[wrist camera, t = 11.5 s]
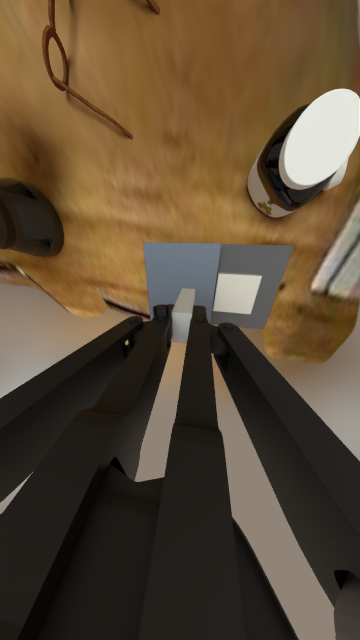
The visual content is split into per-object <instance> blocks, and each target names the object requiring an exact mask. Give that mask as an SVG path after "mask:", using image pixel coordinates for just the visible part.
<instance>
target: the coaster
mask: <svg viewBox="0 0 360 640" xmlns="http://www.w3.org/2000/svg"><path fill="white" fill-rule="evenodd" d="M261 278H262V276H261V275H259V274H245V273H226V272H218V274H217V281H216V287H215V294H214V300H213V311H220V312H231V313H242V314H251V311H252V308H253V304H254V301H255V298H256V294H257V291H258V288H259V285H260V281H261Z"/></svg>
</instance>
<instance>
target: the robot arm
mask: <svg viewBox="0 0 360 640" xmlns="http://www.w3.org/2000/svg"><path fill="white" fill-rule="evenodd" d="M62 244H63V230H62V225H61V222H60V219H59V217H58V215H57V213H56V211H55V209H54V207H53V206H52V204H51V203H50V202H49V200H48V199H47V198H46V197H45V196H44V195H43V194H42V193H41V192H40V191H39V190H38V189H36V188H35V187H33V186H31V185H29V184H27V183H24V182H21V181H18V180H15V179H11V178H0V249H11V250H15V251H19V252H23V253H27V254H31V255H35V256H53V255H55V254H57V253H58V252H59V251H60V249H61V247H62ZM194 300H195V289H188V288H182V290H181V292H180V294H179V297H178V299H177V301H176V303H175V304H167V305H164V304H161V305H156V306H154V307H153V316H154V317H153V319H152V320H151V321H147V322H143V319H142V318H141V317H137V316H132V317H129V318H127V319H125V320H124V321H122V322H121V323H119V324H117V325H116V326H114V327H113V328H111V329H110V330H108V331H106V332H105V333H103V334H102V335H100V336H98V337H97V338H96V339H94V340H92V341H91V342H89V343H87V344H86V345H84V346H83V347H81V348H79V349H78V350H76V351H75V352H73V353H71V354H70V355H68V356H67V357H65V358H64V359H62V360H60V361H59V362H57V363H56V364H54V365H52V366H51V367H49V368H48V369H46V370H45V371H43V372H42V373H40V374H38V375H37V376H35V377H33V378H32V379H30V380H29V381H27V382H26V383H24V384H22V385H21V386H19V387H18V388H16V389H15V390H13V391H11V392H10V393H8V394H7V395H5V396H3V397H2V398H0V502H1V501H3V500H4V499H5V498H6V497H7V496H8V495H9V494H10V493H11V492H12V491H14V490H15V489H16V488H17V487H18V486H19V485H20V484H21V483H22V482H23V481H24V480H25V479H26V478H27V477H28V476H29V475H30V474H31V473H32V472H33V473H32V474H31V475H30V477H29V478H28V479H27V481H26V482H25V484H24V485H23V486H22V488H21V489H20V490H19V492H18V493H17V494H16V496H15V497H14V499H13V500H12V501H11V502H10V504H9V505H8V506H7V508H6V509H5V511H4V512H3V513H2V514H0V640H299V639H298V637H297V635H296V633H295V631H294V629H293V627H292V625H291V623H290V622H289V620H288V618H287V616H286V614H285V612H284V610H283V608H282V606H281V604H280V602H279V600H278V598H277V596H276V594H275V592H274V590H273V588H272V586H271V584H270V582H269V580H268V578H267V576H266V575H265V572H264V571H263V568H262V566H261V565H260V563H259V561H258V559H257V557H256V555H255V553H254V551H253V549H252V547H251V545H250V544H249V541H248V540H247V538H246V536H245V535H244V533H243V532H242V530H241V528H240V527H239V525H238V524H237V522H236V521H235V520H234V518H233V517H232V513H231V504H230V495H229V486H228V477H227V469H226V459H225V451H224V444H223V437H222V433H221V432H220V430H219V428H218V421H217V411H216V401H215V389H214V378H213V367H212V356H211V353H213V354H214V358H215V360H216V362H217V365H218V367H219V369H220V371H221V374H222V376H223V378H224V381H225V383H226V385H227V387H228V389H229V392H230V394H231V396H232V398H233V400H234V403H235V405H236V407H237V409H238V412H239V414H240V416H241V419H242V421H243V423H244V425H245V428H246V430H247V432H248V434H249V436H250V439H251V441H252V443H253V445H254V448H255V450H256V452H257V454H258V457H259V458H260V461H261V463H262V466H263V468H264V470H265V472H266V475H267V477H268V479H269V481H270V483H271V486H272V488H273V490H274V492H275V495H276V497H277V499H278V502H279V504H280V506H281V508H282V510H283V513H284V515H285V517H286V519H287V521H288V523H289V525H290V527H291V529H292V531H293V533H294V536H295V538H296V540H297V542H298V544H299V546H300V548H301V550H302V551H303V553H304V555H305V557H306V559H307V561H308V563H309V565H310V566H311V568H312V570H313V572H314V574H315V576H316V577H317V579H318V581H319V583H320V585H321V586H322V588H323V589H324V591H325V593H326V594H327V596H328V598H329V600H330V601H331V603H332V604H333V606H334V608H335V609H334V624H335V632H336V640H360V461H359V460H358V459H357V458H356V457H355V456H354V455H353V454H352V453H351V451H350V450H349V449H348V448H347V447H346V446H345V445H344V444H343V443H342V441H341V440H340V439H339V438H338V437H337V436H336V435H335V434H334V433H333V431H332V430H331V429H330V428H329V427H328V426H327V425H326V424H325V423H324V422H323V420H322V419H321V418H320V417H319V416H318V415H317V414H316V413H315V412H314V411H313V409H312V408H311V407H310V406H309V405H308V404H307V403H306V402H305V401H304V399H303V398H302V397H301V396H300V395H299V394H298V393H297V392H296V391H295V390H294V388H293V387H292V386H291V385H290V384H289V383H288V382H287V381H286V380H285V379H284V377H283V376H282V375H281V374H280V373H279V372H278V371H277V370H276V369H275V367H274V366H273V365H272V364H271V363H270V362H269V361H268V360H267V359H266V358H265V357H264V355H263V354H262V353H261V352H260V351H259V350H258V349H257V348H256V347H255V346H254V344H253V343H252V342H251V341H250V340H249V339H248V338H247V337H246V336H245V334H244V333H243V332H242V331H241V330H240V329H239V328H238V327H237V326H236V325H234V324H232V323H228V322H227V323H225V322H224V323H220V324H219V326H218V327H217V326H213V325H211V324H209V323H208V319H207V314H206V308H205V307H204V306H198V305H194ZM171 339H172V341H173V342H182V343H187V346H186V353H185V360H184V366H183V373H182V379H181V386H180V392H179V399H178V405H177V412H176V418H175V423H174V424H173V428H172V433H171V440H170V445H169V452H168V458H167V464H166V470H165V477H163V478H158V479H152V480H147V481H142V482H135V481H134V480H135V477H136V473H137V469H138V465H139V458H140V450H141V445H142V441H143V438H144V435H145V431H146V428H147V425H148V421H149V418H150V415H151V411H152V408H153V404H154V401H155V397H156V395H157V391H158V388H159V384H160V381H161V378H162V374H163V371H164V368H165V364H166V361H167V358H168V354H169V351H170V347H171ZM127 340H128V343H129V344H128V345H125V341H127Z"/></svg>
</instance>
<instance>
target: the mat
mask: <svg viewBox="0 0 360 640" xmlns="http://www.w3.org/2000/svg"><path fill="white" fill-rule="evenodd" d="M293 246H294V245H237V244H221V249H220V257H219V264H218V271H217V274H218V272H226V273H245V274H259V275H261V276H262V278H261V281H260V285H259V288H258V291H257V294H256V298H255V301H254V304H253V308H252V311H251V314H242V313H231V312H220V311H213V306H212V313H211V320H210V324H214V325H219V324H220V323H224V322H225V323H227V322H228V323H232V324H234V325H236V326H237V327H246V328H255V329H264V327H265V324H266V321H267V318H268V316H269V313H270V310H271V307H272V305H273V302H274V299H275V296H276V293H277V291H278V288H279V285H280V282H281V280H282V277H283V274H284V271H285V268H286V266H287V263H288V260H289V257H290V255H291V252H292V249H293ZM216 281H217V278H216ZM215 287H216V285H215ZM214 294H215V292H214ZM213 300H214V299H213Z"/></svg>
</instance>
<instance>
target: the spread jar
mask: <svg viewBox="0 0 360 640" xmlns="http://www.w3.org/2000/svg"><path fill="white" fill-rule="evenodd" d="M359 136H360V98H359V97H358V95H357V94H356V93H354V92H353V91H351V90H348V89H336V90H332V91H330V92H327V93H325V94H324V95H322V96H320V97H319V98H317V99H316V100H315V101H314V102H313V103H310V104H306V105H303V106H301V107H299V108H298V109H297V110H295V111H294V112H293V113H292V114H291V115H289V116H288V117H287V118H286V119H285V120H284V121H283V122H282V124H281V125H280V126H279V127H278V128H277V129H276V131H275V132H274V133H273V134H272V136H271V137H270V138H269V140H268V141H267V143H266V144H265V146H264V147H263V149H262V150H261V152H260V154H259V155H258V157H257V159H256V161H255V162H254V164H253V166H252V168H251V170H250V173H249V176H248V182H247V184H248V190H249V194H250V197H251V199H252V201H253V203H254V205H255V206H256V207H257V208H258V209H259V210H260V211H261V212H263V213H264V214H266V215H268V216H270V217H276V218H277V217H282V216H285V215H288V214H290V213H292V212H294V211H296V210H298V209H299V208H301V207H302V206H304V205H305V204H307V203H308V202H309V201H310V200H311V199H313V198H314V197H315V196H316V195H317V194H319V193H320V192H321V190H322V189H323V190H324V191H326V190H328V189H330V188H332V187H334V186H336V185H338V184H339V183H340V182H341V181H342V179H343V176H344V174H345V171H346V167H347V162H348V157H349V155H350V154H351V152H352V151H353V149H354V147H355V145H356V143H357V141H358V139H359Z"/></svg>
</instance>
